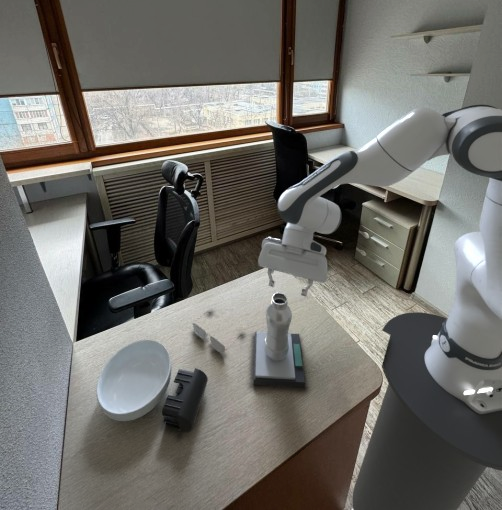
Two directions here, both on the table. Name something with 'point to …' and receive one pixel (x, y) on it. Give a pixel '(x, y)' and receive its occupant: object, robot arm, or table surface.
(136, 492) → the table surface
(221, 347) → the eyeglasses
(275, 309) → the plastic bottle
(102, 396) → the cereal bowl
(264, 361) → the scale
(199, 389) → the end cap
